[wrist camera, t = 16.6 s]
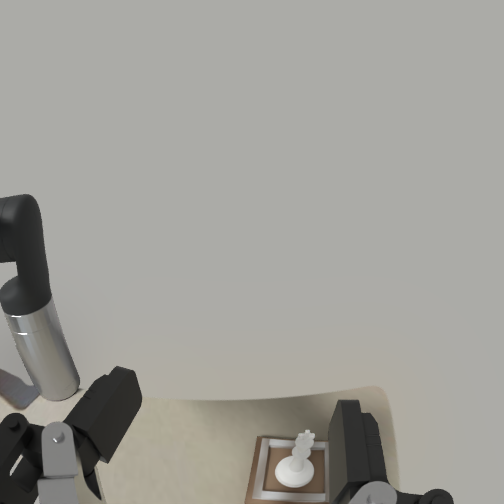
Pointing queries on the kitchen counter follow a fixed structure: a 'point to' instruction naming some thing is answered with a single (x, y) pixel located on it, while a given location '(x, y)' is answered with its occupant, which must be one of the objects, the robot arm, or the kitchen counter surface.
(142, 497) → the kitchen counter surface
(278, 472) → the chess piece
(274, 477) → the walnut board
